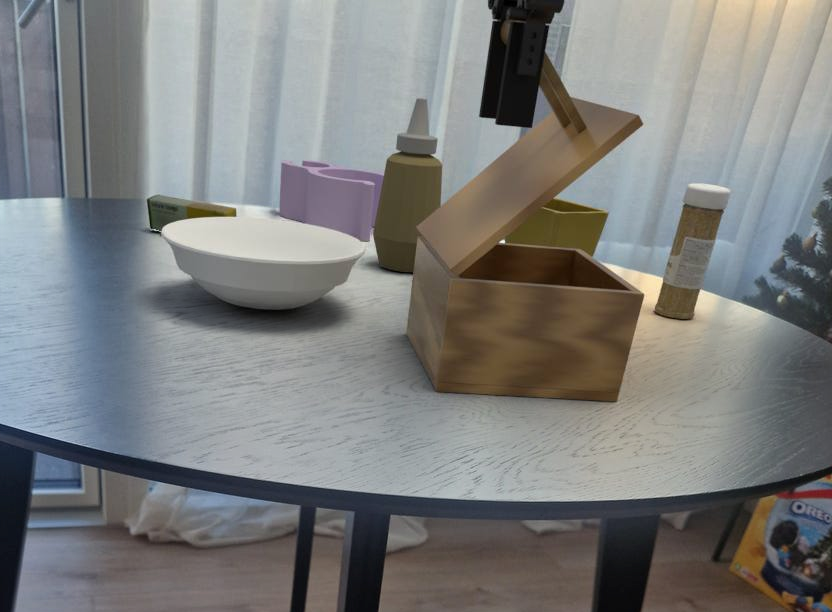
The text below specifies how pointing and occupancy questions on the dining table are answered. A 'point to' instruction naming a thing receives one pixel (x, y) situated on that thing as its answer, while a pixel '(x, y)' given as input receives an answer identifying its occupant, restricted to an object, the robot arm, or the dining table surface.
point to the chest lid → (526, 173)
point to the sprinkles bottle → (691, 249)
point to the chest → (523, 323)
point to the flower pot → (562, 227)
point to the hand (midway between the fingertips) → (504, 121)
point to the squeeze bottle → (407, 193)
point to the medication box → (182, 210)
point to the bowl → (262, 259)
